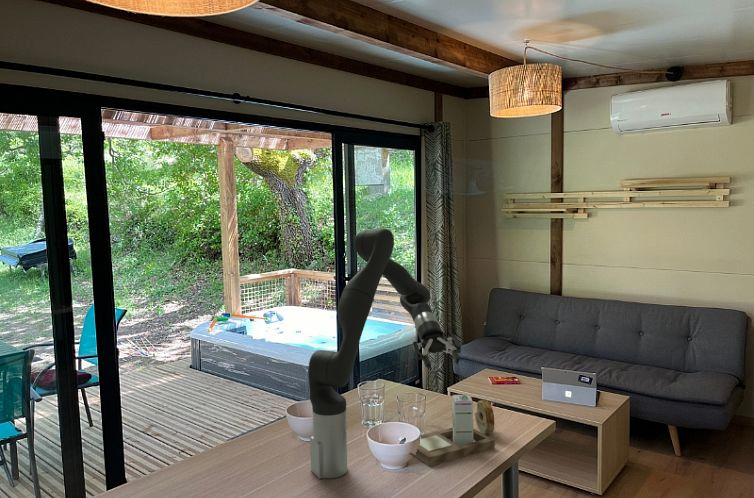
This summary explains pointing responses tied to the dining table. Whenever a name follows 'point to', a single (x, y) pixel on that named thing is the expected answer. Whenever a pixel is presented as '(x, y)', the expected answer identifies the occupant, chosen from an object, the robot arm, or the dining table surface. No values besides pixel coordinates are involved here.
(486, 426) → the bagel
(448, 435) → the dock board
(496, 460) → the dining table surface
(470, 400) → the syrup box
